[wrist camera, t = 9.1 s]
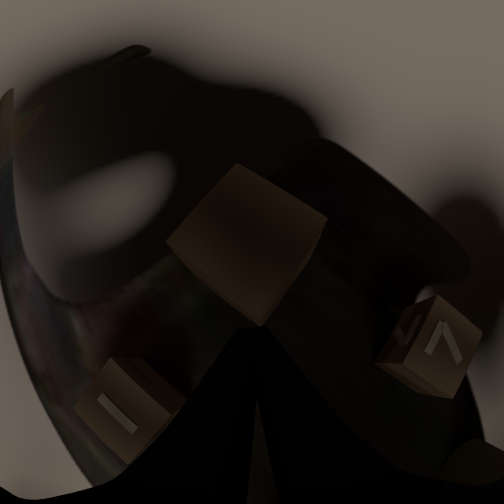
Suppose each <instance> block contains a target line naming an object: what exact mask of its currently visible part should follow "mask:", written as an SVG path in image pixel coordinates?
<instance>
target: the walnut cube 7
mask: <svg viewBox="0 0 504 504" xmlns="http://www.w3.org/2000/svg"><path fill="white" fill-rule="evenodd" d="M482 333H483V332H482V331H480V330H479V329H478V328H477V327H476V326H475V325H474V324H472V323H471V322H470V321H469V320H468V319H467V318H465V317H464V316H463V315H462V314H461V313H459V312H458V311H457V310H456V309H455V308H453V307H452V306H451V305H450V304H448V303H447V302H446V301H445V300H444V299H443V298H441V297H440V296H439V295H435V296H433V297H430V298H428V299H425V300H423V301H421V302H418V303H416V304H413V305H410V306H408V307H405V309H404V311H403V312H402V314H401V316H400V318H399V320H398V322H397V324H396V325H395V327H394V329H393V331H392V332H391V334H390V336H389V338H388V339H387V341H386V343H385V344H384V346H383V348H382V349H381V351H380V353H379V354H378V356H377V358H376V359H375V361H374V362H373V363H375V364H376V365H377V366H379V367H380V368H382V369H383V370H385V371H386V372H388V373H389V374H391V375H392V376H394V377H395V378H397V379H398V380H400V381H401V382H403V383H404V384H406V385H407V386H408V387H410V388H411V389H413V390H414V391H416V392H417V393H421V394H427V395H432V396H438V397H444V398H451V399H453V397H454V395H455V394H456V392H457V390H458V388H459V386H460V384H461V382H462V380H463V378H464V376H465V374H466V371H467V369H468V367H469V365H470V363H471V360H472V358H473V356H474V354H475V351H476V349H477V346H478V344H479V341H480V339H481V336H482Z"/></svg>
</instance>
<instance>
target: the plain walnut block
mask: <svg viewBox="0 0 504 504" xmlns="http://www.w3.org/2000/svg"><path fill="white" fill-rule="evenodd" d="M327 220H328V218H327V217H325V216H324V215H322V214H321V213H319V212H318V211H316V210H315V209H313V208H312V207H310V206H308V205H307V204H305V203H304V202H302V201H300V200H299V199H297V198H296V197H294V196H292V195H291V194H289V193H288V192H286V191H284V190H283V189H281V188H279V187H278V186H276V185H274V184H273V183H271V182H269V181H268V180H266V179H264V178H263V177H261V176H259V175H258V174H256V173H254V172H253V171H251V170H249V169H247V168H246V167H244V166H242V165H240V164H238V163H236V164H235V165H234V166H233V167H232V168H231V170H229V171H228V173H227V174H226V175H225V176H224V177H223V178H222V179H221V180H220V181H219V182H218V183H217V185H216V186H214V187H213V189H212V190H211V191H210V192H209V193H208V194H207V195H206V196H205V197H204V198H203V200H202V201H201V202H200V203H199V204H198V205H197V206H196V207H195V208H194V209H193V211H192V212H191V213H190V214H189V215H188V216H187V217H186V218H185V220H184V221H183V222H182V223H181V224H180V225H179V227H178V228H177V229H176V230H175V231H174V232H173V233H172V235H171V236H170V237H169V238H168V239H167V240H166V243H167V244H168V245H169V247H170V248H171V249H172V250H173V251H174V253H175V254H176V255H177V256H178V257H179V259H180V260H181V261H182V262H183V263H184V264H185V266H186V267H187V268H188V269H189V270H190V271H191V273H192V274H193V275H194V276H195V277H196V278H197V279H198V280H199V281H201V282H202V283H203V284H204V285H206V286H207V287H208V288H210V289H211V290H212V291H213V292H215V293H216V294H217V295H219V296H220V297H221V298H222V299H224V300H225V301H226V302H228V303H229V304H230V305H232V306H233V307H234V308H236V309H237V310H238V311H240V312H241V313H242V314H244V315H245V316H246V317H248V318H249V319H250V320H252V321H253V322H255V323H256V324H257V325H259V326H262V325H263V323H264V322H265V321H266V319H267V318H268V317H269V315H270V314H271V313H272V311H273V310H274V309H275V307H276V306H277V305H278V303H279V302H280V301H281V299H282V298H283V296H284V295H285V294H286V292H287V291H288V290H289V288H290V287H291V285H292V284H293V283H294V281H295V280H296V279H297V277H298V276H299V274H300V273H301V272H302V270H303V269H304V267H305V266H306V265H307V263H308V261H309V259H310V257H311V255H312V253H313V251H314V249H315V246H316V244H317V242H318V240H319V238H320V235H321V233H322V231H323V229H324V226H325V224H326V222H327Z"/></svg>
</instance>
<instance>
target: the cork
mask: <svg viewBox="0 0 504 504" xmlns="http://www.w3.org/2000/svg"><path fill="white" fill-rule="evenodd" d="M502 478H504V451H502V450H500V449H499V448H497V447H494V446H493V445H491V444H489V443H487V442H485V441H483V440H481V439H479V438H476V439H471V440H469V441H467V442H465V443H463V444H462V445H461V446H460V447H458V448H457V449H456V450H455V451H454V453H453V454H452V455H451V456H450V457H449V459H448V460H447V462H446V464H445V465H444V467H443V470H442V472H441V474H440V480H445V481H450V482H456V483H462V484H468V485H488V484H491V483H495V482H497V481H499V480H501V479H502Z"/></svg>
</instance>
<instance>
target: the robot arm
mask: <svg viewBox="0 0 504 504" xmlns="http://www.w3.org/2000/svg"><path fill="white" fill-rule="evenodd" d="M256 391H257V399H258V405H259V410H260V415H261V420H262V424H263V429H264V434H265V439H266V443H267V448H268V453H269V457H270V462H271V467H272V471H273V476H274V480H275V485H276V489H277V494H278V498H279V502H280V504H504V478H502V479H501V480H499V481H497V482H495V483H491V484H488V485H468V484H462V483H456V482H450V481H445V480H440V479H436V478H431V477H427V476H423V475H419V474H415V473H411V472H408V471H405V470H403V469H401V468H399V467H397V466H395V465H394V464H392V463H391V462H390V461H388V460H387V459H386V458H385V457H383V456H382V455H381V454H380V453H379V452H377V451H376V450H375V449H374V448H373V447H372V446H370V445H369V444H368V443H367V442H366V441H365V440H363V439H362V438H361V437H360V436H359V435H358V434H357V433H355V432H354V431H353V430H352V429H351V428H350V427H349V426H348V425H347V424H346V423H345V422H344V421H343V420H342V419H341V418H340V417H339V416H338V415H337V414H336V413H335V412H334V410H333V409H332V408H331V407H330V406H329V405H328V403H327V402H326V401H325V400H324V398H321V395H320V394H319V393H318V391H317V390H316V389H315V388H314V386H313V385H312V384H311V383H310V381H309V380H308V379H307V378H306V376H305V375H304V374H303V373H302V371H301V370H300V369H299V368H298V366H297V365H296V364H295V362H294V361H293V360H292V359H291V357H290V356H289V355H288V354H287V352H286V351H285V350H284V348H283V347H282V346H281V345H280V343H279V342H278V341H277V339H276V338H275V337H274V336H273V334H272V333H271V332H270V330H269V329H268V328H267V327H266V326H256V327H253V328H251V327H241V328H237V329H236V331H235V332H234V334H233V335H232V337H231V338H230V340H229V341H228V343H227V344H226V346H225V347H224V348H223V350H222V351H221V353H220V354H219V356H218V357H217V359H216V360H215V361H214V363H213V364H212V366H211V367H210V369H209V370H208V371H207V373H206V374H205V376H204V377H203V379H202V380H201V381H200V383H199V384H198V386H197V387H196V388H195V390H194V391H193V393H192V394H191V395H190V397H189V398H188V400H187V401H186V402H185V406H182V408H181V409H180V411H179V412H178V413H177V415H176V416H175V417H174V419H173V420H172V421H171V422H170V424H169V425H168V426H167V427H166V429H165V430H164V431H163V432H162V433H161V434H160V435H159V436H158V437H157V438H156V440H155V441H154V442H153V443H152V444H151V445H150V446H149V447H148V448H147V449H146V450H145V451H144V452H143V453H142V454H141V455H140V456H139V457H138V458H137V459H136V460H135V461H134V462H133V463H132V464H131V465H130V466H129V467H128V468H127V469H126V470H124V471H123V472H122V473H121V474H120V475H118V476H117V477H116V478H114V479H113V480H111V481H109V482H107V483H105V484H102V485H99V486H96V487H92V488H89V489H85V490H81V491H77V492H73V493H69V494H65V495H60V496H56V497H51V498H46V499H38V500H28V499H23V498H19V497H17V496H15V495H13V494H11V493H10V492H8V491H7V490H5V489H3V488H2V487H0V504H246V502H247V492H248V483H249V473H250V463H251V453H252V442H253V432H254V421H255V410H256Z"/></svg>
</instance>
